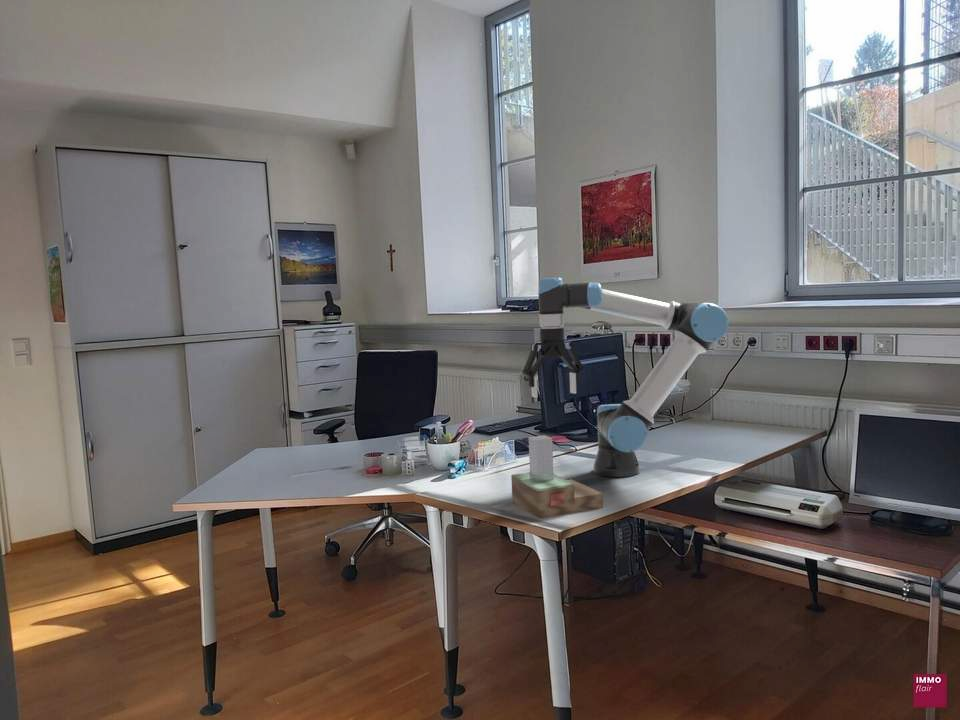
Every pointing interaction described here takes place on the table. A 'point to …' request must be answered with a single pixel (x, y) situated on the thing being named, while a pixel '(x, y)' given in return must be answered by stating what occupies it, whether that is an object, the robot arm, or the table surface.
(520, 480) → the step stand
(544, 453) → the steel column
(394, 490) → the table surface
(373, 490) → the table surface
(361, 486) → the table surface
